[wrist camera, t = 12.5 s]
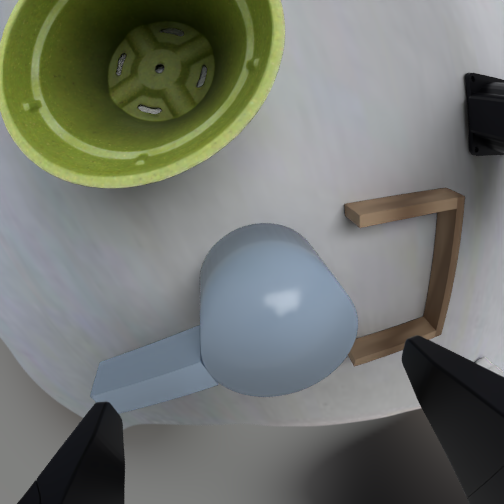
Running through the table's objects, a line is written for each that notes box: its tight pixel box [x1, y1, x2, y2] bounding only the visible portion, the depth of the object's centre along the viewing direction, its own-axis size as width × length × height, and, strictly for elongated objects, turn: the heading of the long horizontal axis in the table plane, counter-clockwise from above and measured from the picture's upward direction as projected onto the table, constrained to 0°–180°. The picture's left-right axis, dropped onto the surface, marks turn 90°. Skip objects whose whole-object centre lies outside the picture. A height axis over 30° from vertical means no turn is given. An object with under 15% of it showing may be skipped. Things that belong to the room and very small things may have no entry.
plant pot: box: [0, 0, 285, 188], centre depth 10 cm, size 9×9×9 cm
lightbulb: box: [476, 358, 504, 377], centre depth 26 cm, size 6×6×11 cm
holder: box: [344, 188, 465, 366], centre depth 21 cm, size 9×13×2 cm
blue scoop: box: [90, 223, 358, 414], centre depth 18 cm, size 16×8×6 cm, turn 113°
